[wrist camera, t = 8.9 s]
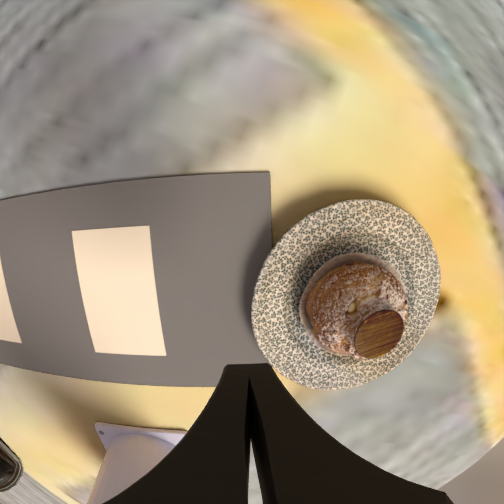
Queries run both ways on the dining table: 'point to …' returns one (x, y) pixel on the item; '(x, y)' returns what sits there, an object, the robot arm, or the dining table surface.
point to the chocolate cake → (9, 468)
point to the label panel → (135, 278)
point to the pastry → (346, 294)
